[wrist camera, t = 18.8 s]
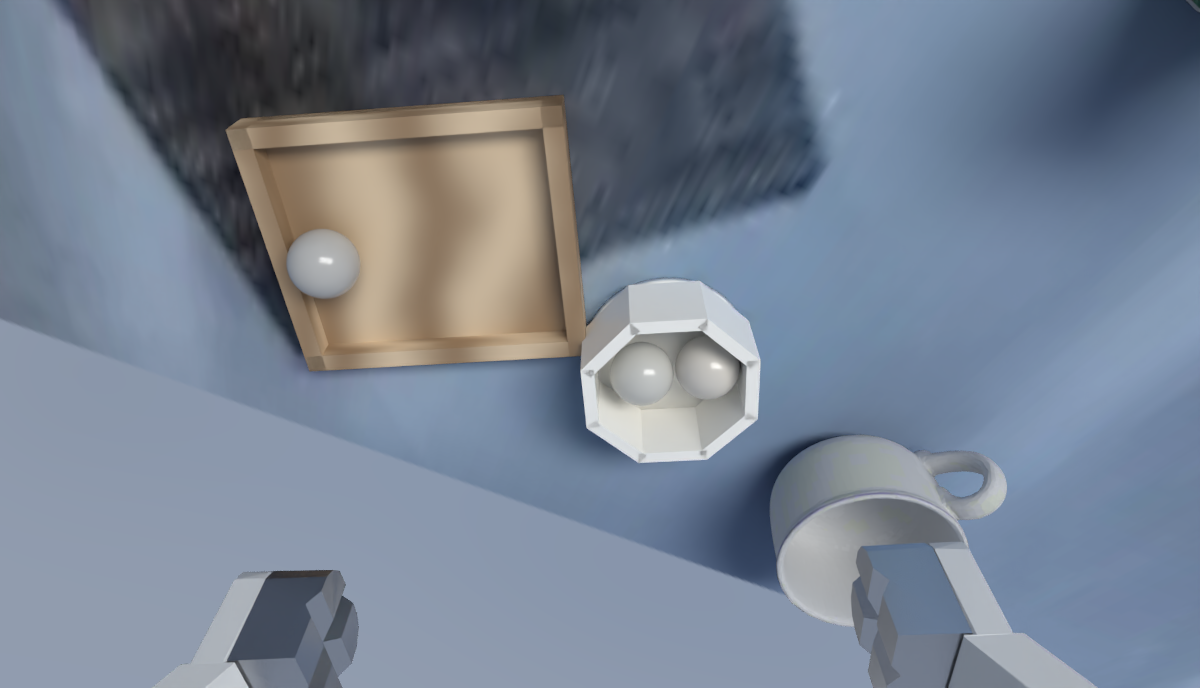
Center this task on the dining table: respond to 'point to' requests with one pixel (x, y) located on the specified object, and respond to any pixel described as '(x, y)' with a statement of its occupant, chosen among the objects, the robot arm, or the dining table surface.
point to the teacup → (865, 512)
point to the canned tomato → (1195, 4)
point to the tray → (425, 229)
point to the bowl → (669, 322)
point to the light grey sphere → (641, 373)
